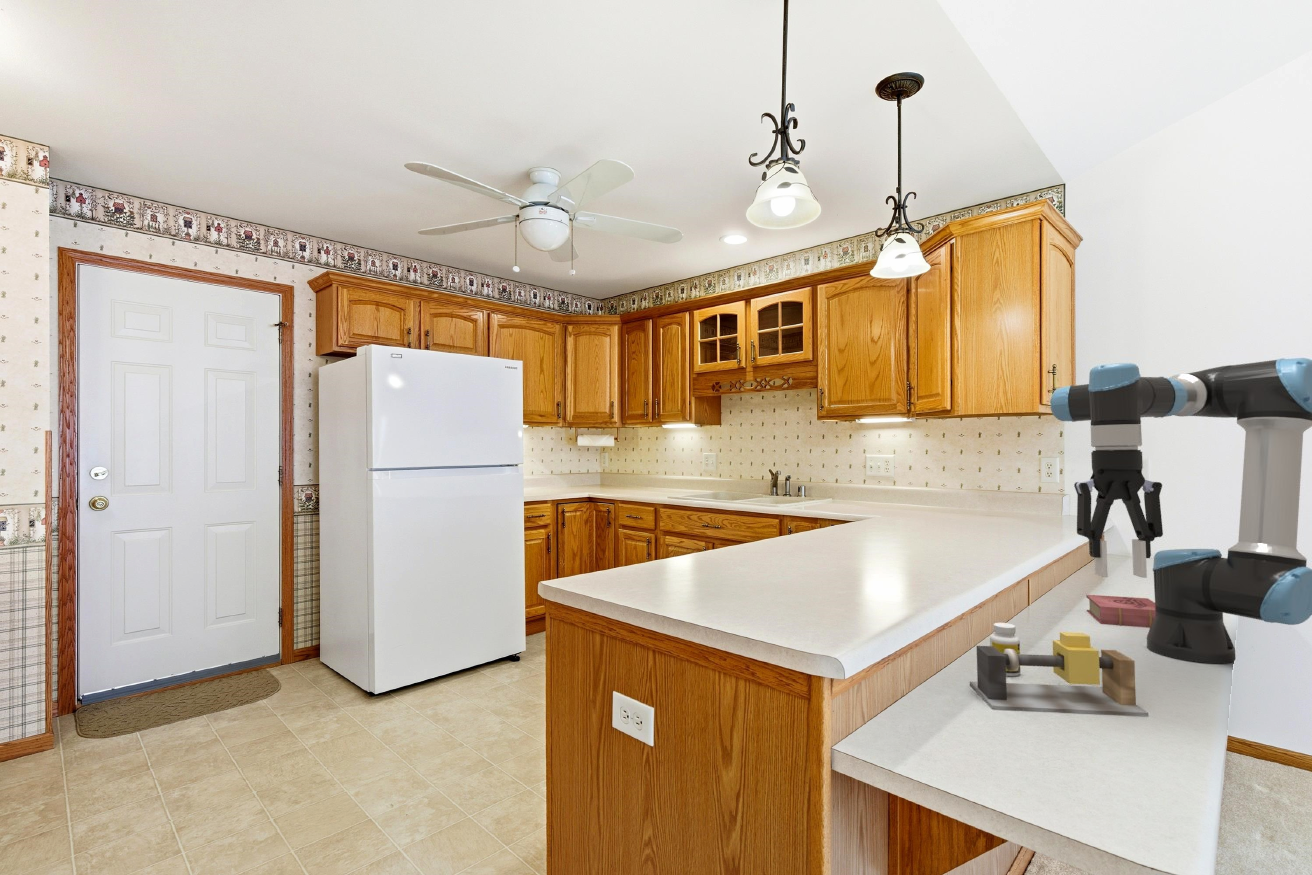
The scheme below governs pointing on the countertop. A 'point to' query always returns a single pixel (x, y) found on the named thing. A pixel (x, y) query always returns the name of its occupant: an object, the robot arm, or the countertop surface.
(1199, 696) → the countertop surface
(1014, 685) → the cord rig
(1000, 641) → the supplement bottle
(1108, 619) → the book
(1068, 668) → the sleeve
